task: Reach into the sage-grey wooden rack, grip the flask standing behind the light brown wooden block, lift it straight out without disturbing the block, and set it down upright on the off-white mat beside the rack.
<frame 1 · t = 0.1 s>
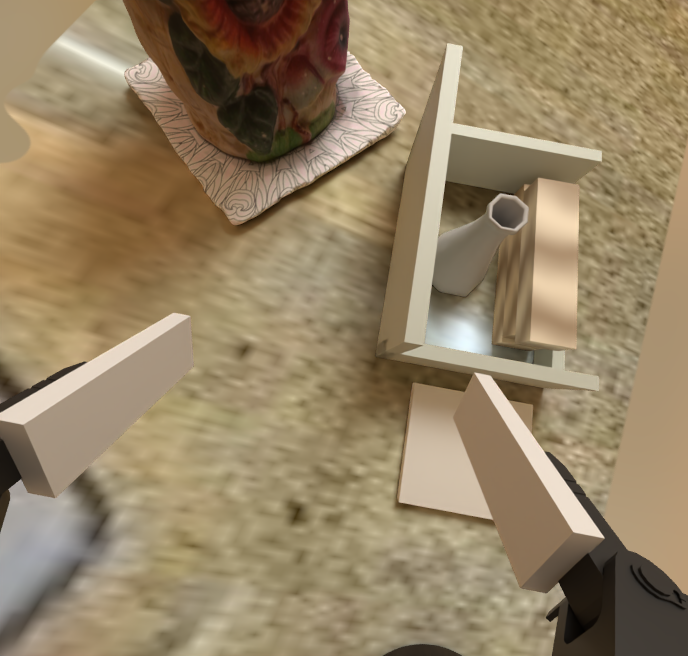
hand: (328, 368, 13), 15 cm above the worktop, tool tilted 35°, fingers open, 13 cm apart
mat: (464, 449, 27), on the worktop
rack: (473, 269, 30), on the worktop
light brown wooden block: (513, 277, 31), resting in rack
cookie jar: (268, 109, 34), on the worktop
flask: (451, 266, 31), on the worktop
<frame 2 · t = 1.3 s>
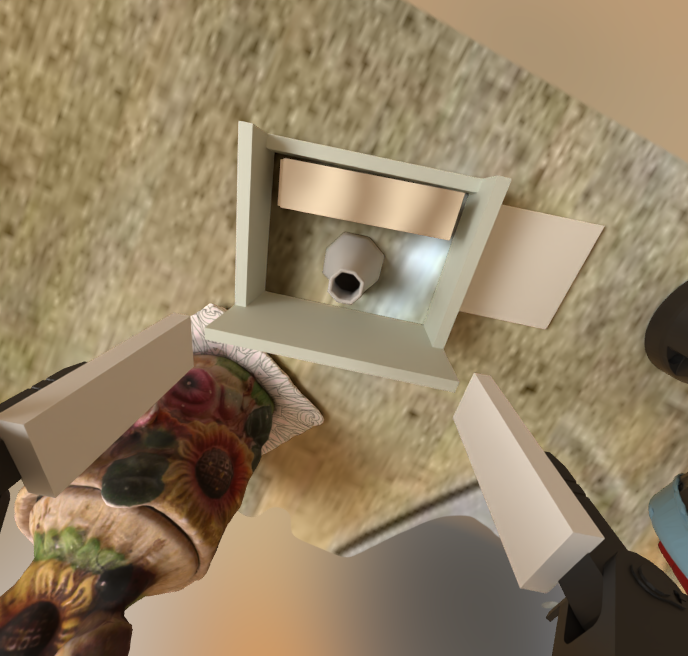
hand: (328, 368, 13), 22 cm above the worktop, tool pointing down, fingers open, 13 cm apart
plastic cup: (674, 541, 48), on the worktop
mat: (521, 270, 31), on the worktop
rack: (356, 244, 32), on the worktop
light brown wooden block: (366, 200, 30), resting in rack
cookie jar: (224, 395, 44), on the worktop
flask: (353, 263, 33), on the worktop
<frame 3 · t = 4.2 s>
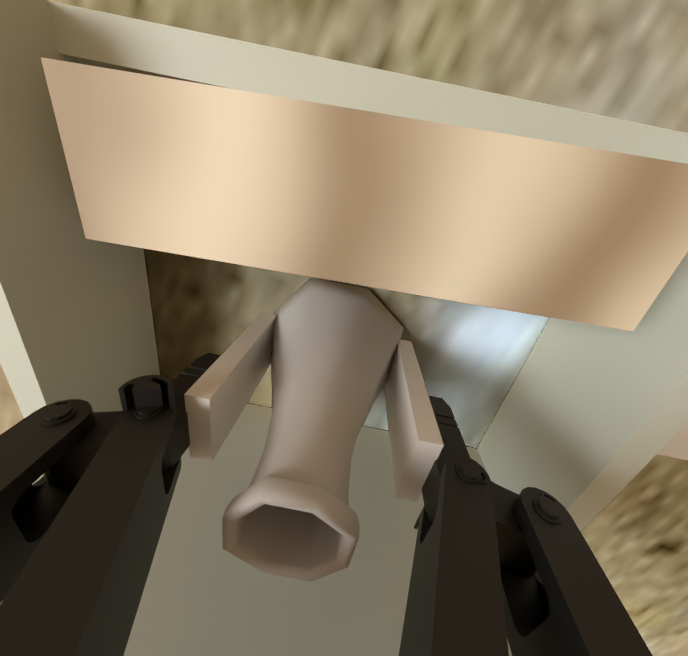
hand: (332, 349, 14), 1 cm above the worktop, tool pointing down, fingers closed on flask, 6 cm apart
rack: (341, 303, 14), on the worktop
light brown wooden block: (360, 204, 12), resting in rack
flask: (335, 339, 15), on the worktop, touching gripper
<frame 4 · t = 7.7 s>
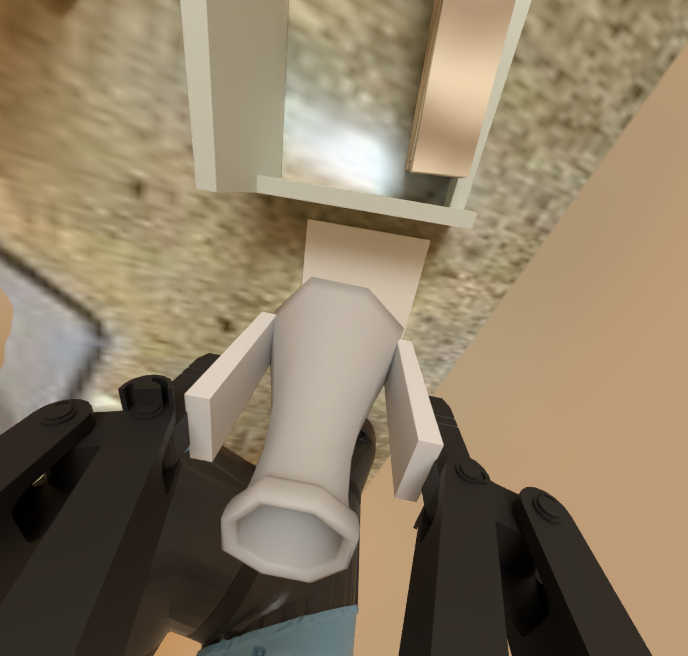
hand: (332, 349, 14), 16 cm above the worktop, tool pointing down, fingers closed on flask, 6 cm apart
mat: (359, 282, 29), on the worktop
rack: (389, 43, 21), on the worktop
light brown wooden block: (451, 54, 21), resting in rack
flask: (334, 339, 15), point 15 cm above the worktop, touching gripper
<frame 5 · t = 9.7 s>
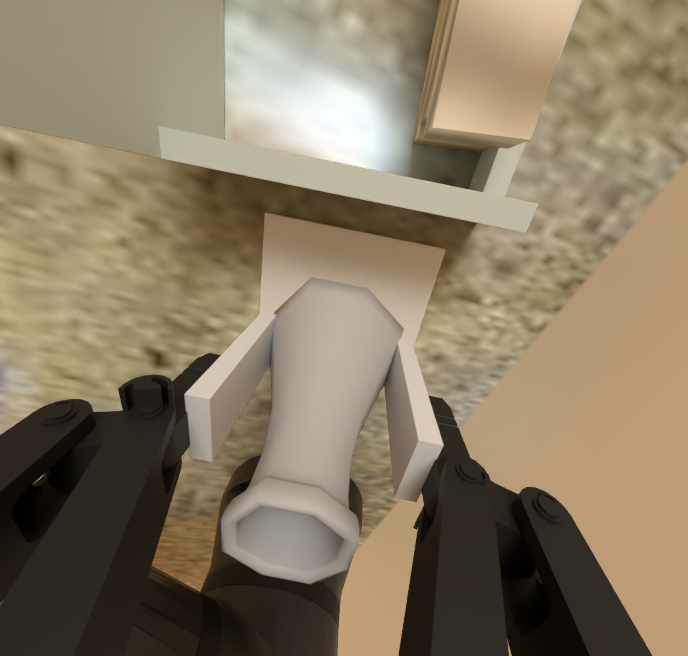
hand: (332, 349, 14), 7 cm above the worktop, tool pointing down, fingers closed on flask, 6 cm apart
mat: (341, 305, 21), on the worktop
flask: (334, 339, 15), point 6 cm above the worktop, touching gripper
when the fingers open (3 cm above the worktop, at t = 11.3 s): flask drops 1 cm, resting on mat.
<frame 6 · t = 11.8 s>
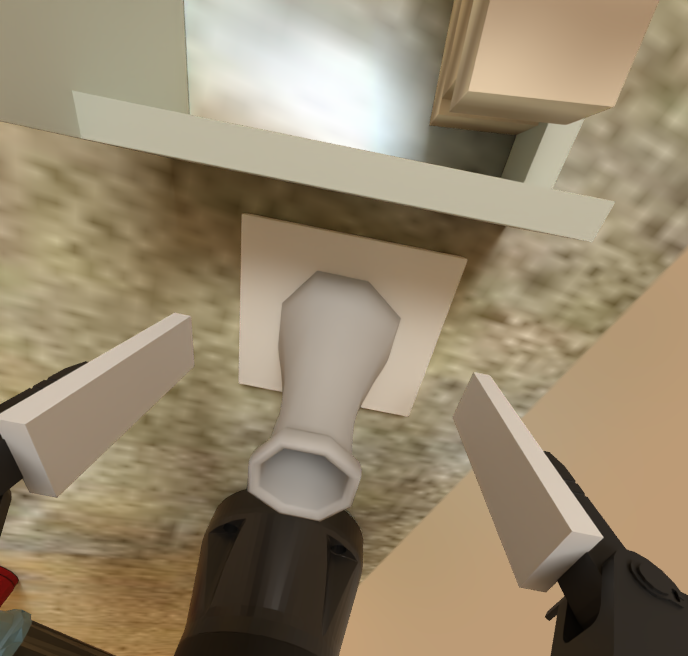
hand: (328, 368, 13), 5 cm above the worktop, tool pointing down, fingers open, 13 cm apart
mat: (338, 324, 17), on the worktop
flask: (337, 329, 17), point 1 cm above the worktop, touching mat
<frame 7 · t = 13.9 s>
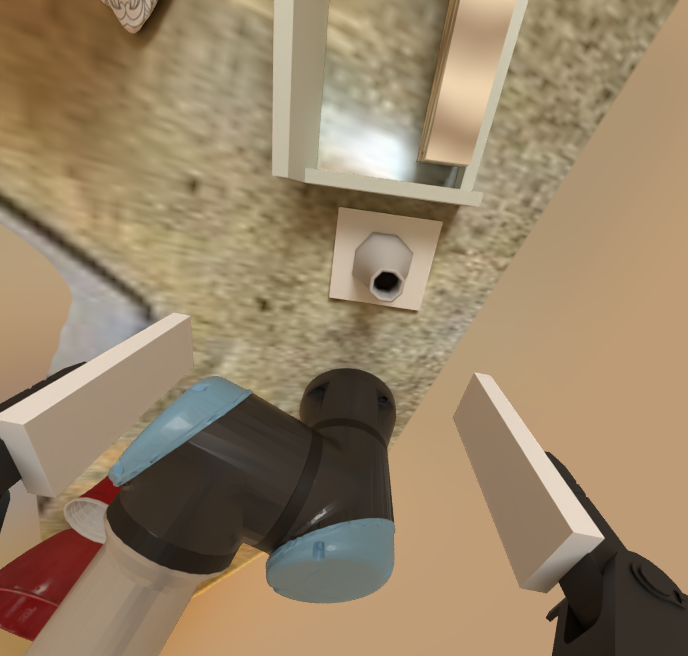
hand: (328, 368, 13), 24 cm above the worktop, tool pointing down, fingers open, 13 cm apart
plastic cup: (147, 460, 55), on the worktop
mat: (381, 261, 34), on the worktop
rack: (408, 61, 26), on the worktop
light brown wooden block: (456, 68, 26), resting in rack
mixing bowl: (103, 539, 70), on the worktop
flask: (381, 262, 34), point 1 cm above the worktop, touching mat
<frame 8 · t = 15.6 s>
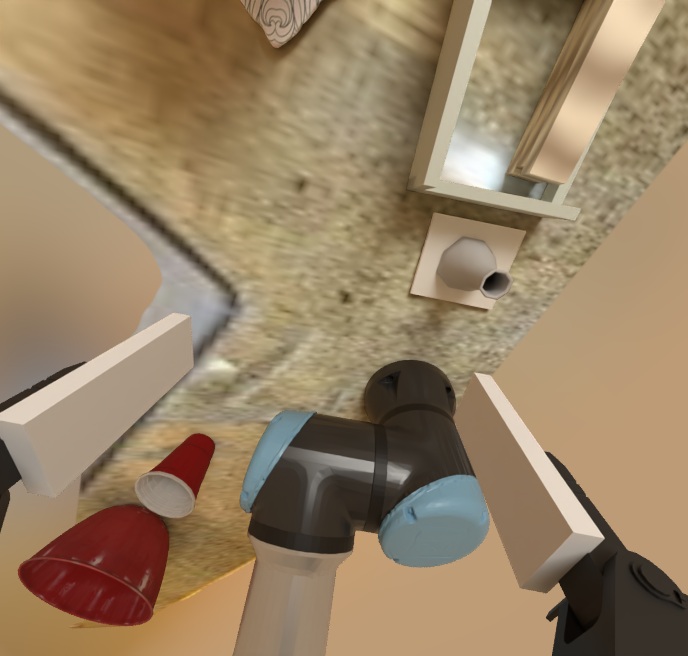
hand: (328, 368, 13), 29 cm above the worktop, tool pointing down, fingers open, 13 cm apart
plastic cup: (201, 441, 58), on the worktop
mat: (463, 263, 38), on the worktop
rack: (518, 89, 30), on the worktop
light brown wooden block: (558, 98, 30), resting in rack
mixing bowl: (140, 519, 72), on the worktop
flask: (464, 264, 37), point 1 cm above the worktop, touching mat
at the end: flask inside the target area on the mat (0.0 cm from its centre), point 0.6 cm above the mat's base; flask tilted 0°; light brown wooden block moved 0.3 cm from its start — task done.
